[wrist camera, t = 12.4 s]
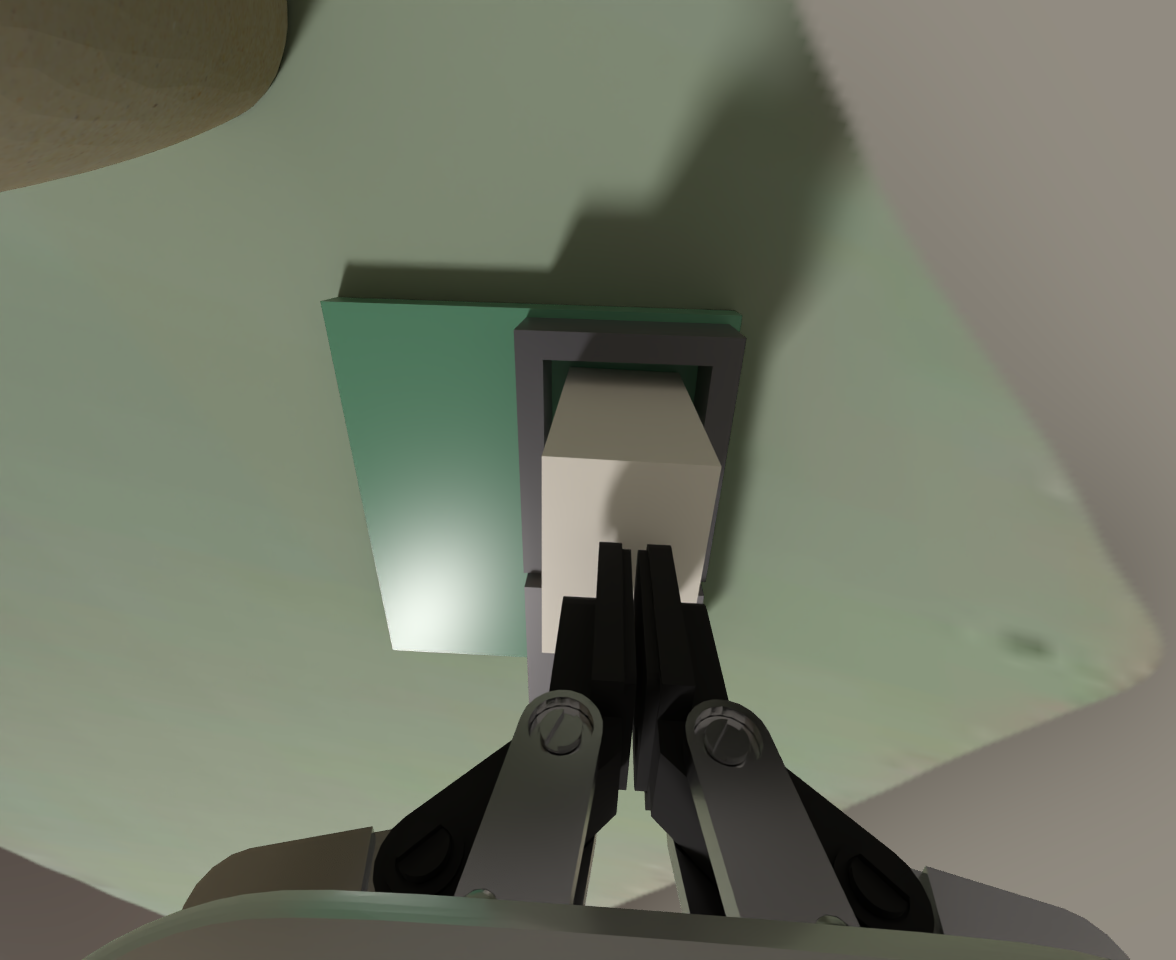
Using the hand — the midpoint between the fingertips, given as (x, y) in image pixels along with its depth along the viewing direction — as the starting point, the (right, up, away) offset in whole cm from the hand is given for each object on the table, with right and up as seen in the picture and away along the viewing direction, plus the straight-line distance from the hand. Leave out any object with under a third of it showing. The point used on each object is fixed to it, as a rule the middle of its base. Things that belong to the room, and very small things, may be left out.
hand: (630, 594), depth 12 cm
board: (-3, +2, +11) cm, 11 cm away
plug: (0, +4, +8) cm, 9 cm away
